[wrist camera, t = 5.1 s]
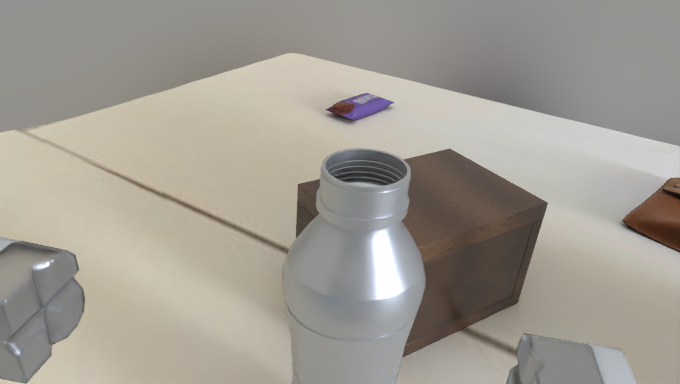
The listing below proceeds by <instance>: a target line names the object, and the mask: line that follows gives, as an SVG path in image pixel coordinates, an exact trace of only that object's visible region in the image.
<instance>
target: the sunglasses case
mask: <svg viewBox="0 0 680 384" xmlns="http://www.w3.org/2000/svg"><path fill="white" fill-rule="evenodd" d="M623 221H624V223H625V224H626V225H627V226H629V227H630V228H632V229H634V230H636V231H638V232H639V233H641V234H643V235H644V236H646V237H648V238H650V239H652V240H654V241H656V242H659V243H661V244H663V245H665V246H668V247H670V248H672V249H674V250H676V251H679V252H680V178H670V179H669V180H668V181H667V182H666V183H665V184H664V185H663V186H662V187H661V188H660V189H659V190H658V191H656V192H655V193H654V194H653V195H652V196H651V197H649V198H648V199H647V200H646V201H644V202H643V203H642V204H641V205H639V206H638V207H637V208H635V209H634V210H633V211H631V212H630V213H629V214H628V215H627V216H626V217H625V218H624V219H623Z"/></svg>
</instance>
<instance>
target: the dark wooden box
mask: <svg viewBox="0 0 680 384" xmlns="http://www.w3.org/2000/svg"><path fill="white" fill-rule="evenodd" d="M404 161H405V162H406V163H407V164H408V165H409V166H410V170H411V172H410V174H411V178H410V184H409V190H408V197H409V205H408V211H407V214H406V216H405V218H404V219H403V220H401V221H402V222H403V224H404V225H405V227H406V228H407V229H408V231H409V232H410V234H411V236H412V238H413V240H414V242H415V243H416V245H417V247H418V249H419V251H420V253H421V256H422V260H423V265H424V271H425V277H426V282H425V289H424V293H423V297H422V301H421V304H420V306H419V309H418V311H417V314H416V317H415V320H414V322H413V325H412V328H411V330H410V333H409V336H408V338H407V341H406V344H405V347H404V351H403V355H402V357H404V356H406V355H408V354H410V353H412V352H414V351H416V350H418V349H421V348H423V347H425V346H427V345H429V344H431V343H433V342H435V341H437V340H439V339H442V338H444V337H446V336H448V335H450V334H452V333H454V332H456V331H458V330H460V329H463V328H465V327H467V326H469V325H471V324H473V323H475V322H477V321H479V320H481V319H484V318H486V317H488V316H490V315H492V314H494V313H496V312H498V311H500V310H503V309H505V308H507V307H509V306H511V305H513V304H515V303H517V302H518V300H519V297H520V293H521V290H522V287H523V283H524V280H525V277H526V273H527V270H528V267H529V263H530V260H531V257H532V253H533V250H534V247H535V244H536V240H537V237H538V234H539V230H540V227H541V224H542V220H543V218H544V214H545V211H546V208H547V204H548V203H547V202H545V201H544V200H542V199H540V198H538V197H536V196H535V195H533V194H531V193H529V192H527V191H525V190H524V189H522V188H520V187H518V186H516V185H515V184H513V183H511V182H509V181H507V180H506V179H504V178H502V177H500V176H498V175H497V174H495V173H493V172H491V171H489V170H487V169H486V168H484V167H482V166H480V165H478V164H477V163H475V162H473V161H471V160H469V159H468V158H466V157H464V156H462V155H460V154H458V153H457V152H455V151H453V150H451V149H447V150H443V151H438V152H434V153H430V154H425V155H421V156H417V157H413V158H408V159H404ZM319 187H320V179H318V180H314V181H310V182H306V183H301V184H298V198H297V200H298V201H297V224H296V238H297V237H298V236H299V235H300V234H301V232H302V231H303V230H304V229H305V228H306V226H307V225H308V224H309V223H310V222H311V221H312V220H313V219H314V218H315V217H317V216H318V215H319V214H320V213H319V212H318V210H317V207H316V197H317V191H318V189H319Z"/></svg>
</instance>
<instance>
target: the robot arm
mask: <svg viewBox="0 0 680 384" xmlns="http://www.w3.org/2000/svg"><path fill="white" fill-rule="evenodd" d="M78 270H79V267H78V263H77V259H76V255H75V254H73V253H71V252H69V251H67V250H63V249H58V248H53V247H48V246H43V245H38V244H34V243H29V242H24V241H16V240H12V239H7V238H2V237H0V379H4V380H10V381H15V382H21V383H27V382H28V381H29V380H30V379H31V378H32V377H33V375H34V374H35V373H36V372H37V371H38V370H39V369H40V368H41V367H42V365H43V364H44V363H45V362H46V361H47V360H48V359H49V358H50V357H51V356H52V345H53V344H55V343H57V342H59V341H61V340H63V339H65V338H68V336H69V335H70V334H71V333H72V332H73V331H74V329H75V328H76V327H77V326H78V323H79V321H80V319H81V316H82V314H83V312H84V304H85V297H84V291H83V288H82V287H81V286H80V284H79V283H78V282H77V281H76V280H75V279H74V276H75V275H76V273H77V272H78ZM516 351H517V358H518V365H517V366H515V367H513V368H512V369H510V372H509V375H508V379H507V382H506V384H636V381H635V379H634V376H633V374H632V371H631V369H630V366H629V364H628V362H627V359H626V357H625V354H624V353H623V352H622V351H621V350H620V349H619V348H612V347H606V346H600V345H594V344H583V343H578V342H572V341H566V340H561V339H555V338H549V337H543V336H538V335H532V334H526V333H524V334H523V336H522V337H521V339H520V341H519V344H518V347H517V350H516Z"/></svg>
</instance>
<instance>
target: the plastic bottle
mask: <svg viewBox="0 0 680 384" xmlns="http://www.w3.org/2000/svg"><path fill="white" fill-rule="evenodd" d="M410 172H411V170H410V166H409V165H408V164H407V163H406V162H405V161H404V160H403V159H401V158H400V157H398V156H396V155H393V154H391V153H388V152H384V151H380V150H374V149H362V148H358V149H346V150H342V151H338V152H335V153H332V154H331V155H329V156H327V157H326V158H325V159H324V161H323V163H322V167H321V174H320V187H319V189H318V191H317V197H316V207H317V210H318V212H319V213H320V214H319V215H318V216H317V217H315V218H314V219H313V220H312V221H311V222H310V223H309V224H308V225H307V226H306V228H305V229H304V230H303V231H302V232H301V234H300V235H299V236H298V237H297V238H296V240H295V241H294V242H293V243H292V245H291V247H290V249H289V252H288V255H287V257H286V260H285V263H284V265H283V271H282V281H283V293H284V298H285V304H286V310H287V316H288V321H289V327H290V333H291V349H292V361H293V362H292V372H293V378H292V384H396V381H397V377H398V370H399V368H400V364H401V360H402V355H403V351H404V347H405V344H406V341H407V338H408V336H409V333H410V330H411V328H412V325H413V322H414V320H415V317H416V314H417V311H418V309H419V306H420V304H421V301H422V297H423V293H424V289H425V282H426V277H425V271H424V265H423V260H422V256H421V253H420V251H419V249H418V247H417V245H416V243H415V242H414V240H413V238H412V236H411V234H410V232H409V231H408V229H407V228H406V227H405V225H404V224H403V222H402V221H401V220H403V219H404V218H405V216H406V214H407V211H408V205H409V197H408V190H409V184H410V178H411V174H410Z"/></svg>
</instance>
